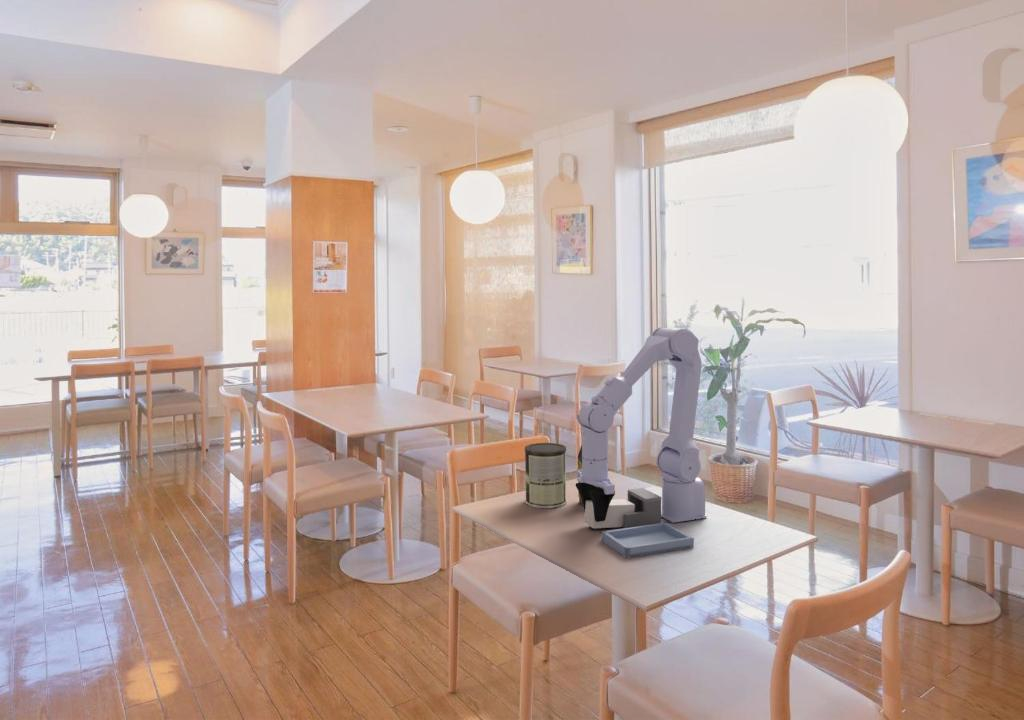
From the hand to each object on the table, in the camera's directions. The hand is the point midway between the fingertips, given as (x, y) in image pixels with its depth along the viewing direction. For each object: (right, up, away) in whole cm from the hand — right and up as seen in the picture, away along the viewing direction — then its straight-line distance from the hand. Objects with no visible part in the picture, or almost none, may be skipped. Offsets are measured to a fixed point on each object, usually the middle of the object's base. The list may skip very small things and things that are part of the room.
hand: (594, 517), depth 160 cm
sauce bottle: (+1, -1, +19) cm, 19 cm away
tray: (+10, -3, -10) cm, 14 cm away
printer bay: (+9, -2, +4) cm, 10 cm away
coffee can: (-10, -1, +20) cm, 22 cm away
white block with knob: (+3, -2, +1) cm, 4 cm away
